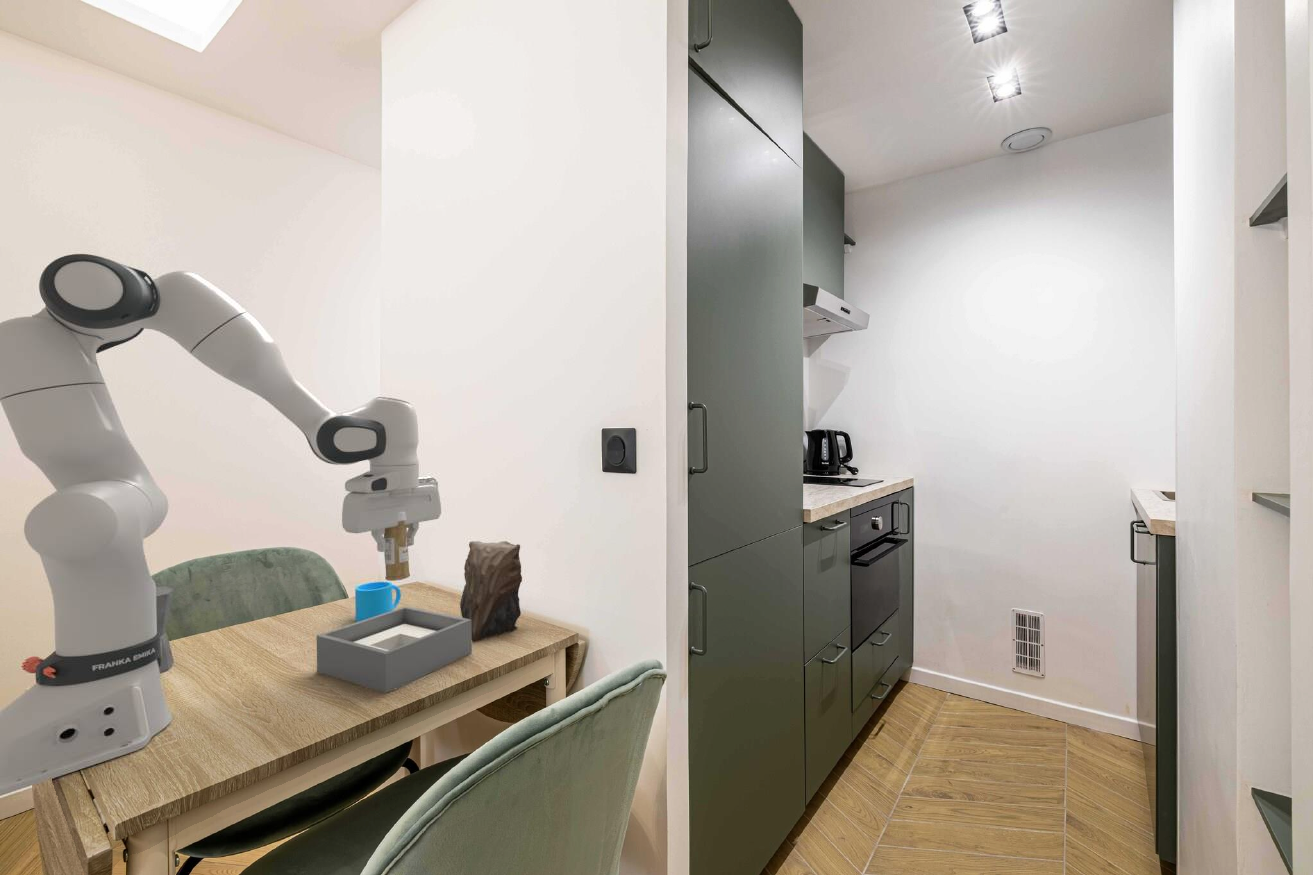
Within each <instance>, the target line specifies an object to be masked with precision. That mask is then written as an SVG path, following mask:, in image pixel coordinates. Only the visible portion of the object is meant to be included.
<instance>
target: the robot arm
mask: <svg viewBox="0 0 1313 875" xmlns="http://www.w3.org/2000/svg"><path fill="white" fill-rule="evenodd" d="M38 288H39V289H38V291H39V294H40V297H41V299H42V301H43V303H44V304H45V306H44V307H43V308H42V309H41V311H40V312H38V313H36V314H32V315H31V316H20V317H14V318H11V319H7V320H4V321H1V322H0V404H1V407H2V409H3V412H4V413H5V416H6V419H7V420H8V423H9V426H10V428H11V430H12V432H13V434H14V438H15V439H16V441H17V444H18V445H19V449H20V451H21V453H22V454H23V455H24V457H26V458H27V460H29V462H32V463H33V464H35V466H36V467H37V468H38V469H39V470H40V471H41V472H42V473H43V475H44V476H45V477H46V479H47V480H48V481H49V482H50V484H51V485H52V486H53V488H54V489H55V491H54V492H52V493H51V494H49V495H48V496H46V497H45V498H43V499H42V500H40V502H39V503H38V504H36V505H35V506H34V507H33V508H32V509H31V510H30V512H29V513H28V515H27V516H26V518H25V521H24V526H23V527H24V529H23V533H24V537H25V540H26V542H27V544H28V545H29V546H30V547H31V548H32V550H34V551H35V553H37V554H38V555H39V557H40V560H41V562H42V566H43V569H44V572H45V575H46V577H47V582H48V583H49V587H50V591H51V596H52V601H53V607H54V608H53V610H54V611H53V613H54V615H53V616H54V642H55V647H54V651H53V652H52V653H51V654H49V655H48V656H47V657H46V658H44V659H43V658H40V657H39V656H31V657H27V658H26V659H25V660H24V662H22V665H21V666H20V667H21V668H22V670H23V671H25V672H26V673H29V674H35V684H33V685H32V686H31V687H30V688H28V689H27V690H26V691H25V692H23V693H22V694H21V695H19V697H17V698H16V699H14V700H13V701H12V702H10V703H9V704H7V705H6V706H5V707H4V708H3V709H1V710H0V797H1V796H4V795H7V794H11V793H13V792H17V791H20V790H22V789H25V788H29V787H31V786H35V785H37V784H39V783H44V782H46V781H49V780H53V779H55V778H58V777H62V776H64V775H67V774H69V773H73V772H76V771H79V770H83V769H85V768H88V767H90V766H95V765H96V764H97V765H98V764H100V763H103V762H107V761H110V760H112V759H115V758H117V757H121V756H123V755H127V754H130V753H134V752H136V751H139V750H141V749H143V748H144V747H146V746H147V745H148V743H149V742H150V741H151V739H152V738H153V737H154V736H155V735H157V734H158V733H159V732H161V731H162V730H163V729H165V728H166V727H167V726H168V725H169V724H170V723H171V722H172V719H173V715H172V713H171V711H170V709H169V706H168V704H167V701H166V698H165V694H164V690H163V685H162V680H161V673H160V672H159V667H160V666H161V657H162V644H161V640H160V633H159V632H157V616H156V587H157V586H156V582H155V580H154V578H152V575H151V573H150V570H149V567H148V563H147V559H146V556H145V555H146V554H145V549H144V539H146V538H148V537H150V536H151V535H153V534H155V532H156V531H157V530H159V528H160V527H161V525H162V524H163V523H164V520H165V519H166V517H167V514H168V510H169V500H168V497H167V495H166V494H165V491H163V490H162V489H161V487H159V486H158V485H157V482H156V481H155V480H154V477H153V476H152V474H151V472H150V470H149V469H148V467H147V465H146V464H145V462H144V461H143V458H142V457H141V455H139V453H138V451H137V449H135V447H134V446H133V444H132V442H131V440H130V438H129V437H128V435H127V433H126V430H125V429H124V426H123V424H122V422H121V419H120V416H119V415H118V411H117V409H116V407H115V404H114V401H113V399H112V397H111V394H110V392H109V389H108V386H107V384H106V382H105V379H104V377H103V375H102V372H101V370H100V367H99V364H98V359H97V354H99V353H101V352H104V351H107V350H108V349H112V348H115V347H117V346H119V345H122V344H125V343H127V342H129V341H132V340H133V339H135V338H137V337H138V336H139V335H141V333H142V332H144V330H145V329H146V330H153V331H156V332H158V333H159V332H160V333H161V334H164V335H166V336H167V337H169V338H170V339H172V340H174V341H175V342H176V343H177V344H179V345H180V346H181V347H182V348H183V349H184V350H185V351H186V352H187V353H189V354H190V355H191V356H192V357H194V358H195V359H196V360H198V361H199V362H200V363H201V364H203V365H204V366H205V367H207V368H209V369H210V370H212V371H213V372H215V373H216V374H218V375H219V376H220V377H221V376H222V377H223V378H225V379H226V380H228V381H230V382H232V383H234V384H235V385H237V386H240V387H242V388H244V389H246V390H247V391H250V392H252V393H253V394H255V395H257V396H259V397H261V398H262V399H264V400H265V401H266V402H267V403H268V404H270V405H271V406H273V408H275V409H276V411H277V410H278V412H279V413H280V414H282V415H283V417H285V418H287V419H288V420H289V421H290V422H291V423H292V424H294V425H295V426H296V427H297V428H298V429H299V430H300V431H301V432H302V433H303V435H304V436H305V438H306V440H307V443H308V445H309V448H310V449H311V451H312V454H314V455H315V457H316V458H318V460H321V461H322V462H324V463H327V464H329V465H334V466H335V465H337V466H339V465H340V466H341V465H343V466H348V465H353V464H354V465H355V464H357V463H360V462H363V461H369V470H368V471H366V472H364V473H362V474H359V475H357V476H354V477H352V478H349V479H347V480H346V481H345V483H344V489H345V492H349V493H347V494H346V495H345V496H344V499H343V502H342V509H341V510H342V514H341V515H342V516H341V517H342V518H341V524H342V528H343V529H344V531H345V532H346V533H351V534H361V533H367V532H370V533H371V536H372V538H373V540H374V541H375V543H377V545H376V550H377V551H378V552H379V553H384V552H385V551H388V550H390V547H389V546H390V542H386V541H385V539H384V534H385V528H390V527H395V526H397V525H398V522H397V514H398V513H399V512H405V514H406V520H405V525H406V527H407V539H408V547H411V546H414V544H415V536H416V535H417V532H418V530H419V528H420V526H419V525H420V523H423V522H429V521H434V520H438V519H439V518H440V517H441V515H442V505H441V504H442V502H441V496H440V491H439V483H438V481H437V479H436V478H434V477H433V476H431V475H427V476H420V465H419V464H420V462H419V459H418V458H419V457H418V455H417V449H418V445H419V426H418V424H419V423H418V416H417V411H416V409H415V407H414V405H412V404H411V403H410V402H408V401H405V400H403V399H399V398H392V397H385V396H378V397H374V398H373V399H372V400H370V401H368V402H366V403H364V404H363V405H361V406H359V407H356V408H353V409H350V410H348V411H345V412H343V413H337V412H335V411H333V410H332V409H330V408H328V407H326V406H325V405H324V404H323V403H322V402H321V401H320V400H319V399H318V398H317V397H316V396H314V394H312V393H311V392H310V391H309V390H308V389H307V388H305V386H303V385H302V384H301V383H300V382H299V381H298V380H297V379H296V378H295V377H294V375H293V374H292V372H291V371H290V370H289V368H288V366H287V365H286V362H285V360H284V357H283V355H282V353H281V350H280V347H279V345H278V344H277V343H276V341H275V340H274V339H273V337H272V336H271V335H270V334H269V332H268V331H267V329H265V327H263V325H262V324H261V323H260V322H259V321H258V320H257V319H256V318H255V317H254V316H253V315H252V314H250V313H249V312H248V311H247V310H246V309H245V308H244V307H243V306H242V305H240V304H239V303H238V302H237V301H235V300H234V299H233V298H232V297H230V296H229V295H228V294H226V292H223V291H222V290H221V289H220V288H218V287H217V286H215V285H214V284H212V283H211V282H209V281H207V280H206V279H204V278H203V277H201V276H199V275H198V274H196V273H193V272H190V271H185V270H184V271H183V270H180V271H179V270H178V271H172V272H167V273H165V274H162V275H161V276H158V277H156V278H155V279H154V277H152V275H150V274H149V273H148V272H147V271H143V270H141V269H137V268H135V267H132V266H127V265H125V264H123V263H119V262H117V261H114V260H111V259H108V258H106V257H103V256H99V255H94V254H87V253H75V254H68V255H63V256H61V257H59V258H56V259H54V260H53V261H52V262H50V263H49V264H48V265H47V266H46V267H45V268H44V270H43V271H42V273H41V276H40V278H39V284H38Z"/></svg>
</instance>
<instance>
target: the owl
mask: <svg viewBox="0 0 1313 875" xmlns="http://www.w3.org/2000/svg"><path fill="white" fill-rule="evenodd" d="M468 547H469V551H468V554H467V558H466V559H465V562H464V568H463V569H464V573H463V575H464V581H465V584H464V587H463V589H462V590H463V591H462V594H461V598H460V602H459V606H460V607H459V608H460V615H461V618H466V619H471V623H472V642H479V641H481V640H484V639H488V638H492V637H495V636H500V635H502V634H504V633H509V632H513V631H515V630H517V629H518V626H516V623H517V621H518V619H519V618H520V616H521V615H522V614H521V613H522V611H521V607H520V598H519V589H520V586H521V583H522V582H523V576H522V564H521V561H520V551H521V544H519V543H517V544H514V543H511V542H508V541H506V540H505V541H503V540H502V541H499V542H483V541H479V540H478V541H470V542H469V543H468Z"/></svg>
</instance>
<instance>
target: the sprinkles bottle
mask: <svg viewBox="0 0 1313 875" xmlns="http://www.w3.org/2000/svg"><path fill="white" fill-rule="evenodd" d="M405 520H406V514H405V512H399V513H398V514H397V522H398V525H397V526H395V527H390V528H385V534H383V537H384V539H385V541H386V542H390V546H389V547H390V550H388V551H385V552H383V554H384V564H385V580H386V581H387V582H389V581H390V582H392V581H394V582H395V581H401V580H404V579H408V578H409V577H411V574H410V566H409V565H410V564H409V560H410V559H409V557H410V556H409V546H408V539H407V531H408V528H407V527H406V525H405Z"/></svg>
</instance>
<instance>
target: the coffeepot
mask: <svg viewBox="0 0 1313 875" xmlns="http://www.w3.org/2000/svg"><path fill="white" fill-rule="evenodd" d="M173 594H174V588H171V586H156V616H157V632H159V633H160V640H161V644H162V657H161V666H160V667H159V672H160V674H163V673H165V672H166V671H168V670H170V669H171V668H172V667H173V664H174V662H175V660H174V657H173V653H172V647H171V644H170V640H169V636H168V633H166V626H167V624H168V623H169V617H170V612H171V605H172V598H173Z"/></svg>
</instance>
